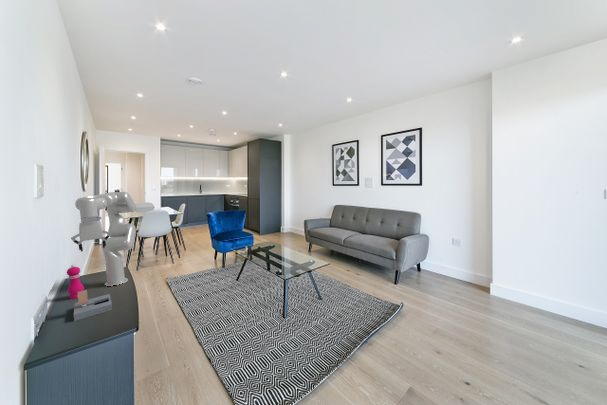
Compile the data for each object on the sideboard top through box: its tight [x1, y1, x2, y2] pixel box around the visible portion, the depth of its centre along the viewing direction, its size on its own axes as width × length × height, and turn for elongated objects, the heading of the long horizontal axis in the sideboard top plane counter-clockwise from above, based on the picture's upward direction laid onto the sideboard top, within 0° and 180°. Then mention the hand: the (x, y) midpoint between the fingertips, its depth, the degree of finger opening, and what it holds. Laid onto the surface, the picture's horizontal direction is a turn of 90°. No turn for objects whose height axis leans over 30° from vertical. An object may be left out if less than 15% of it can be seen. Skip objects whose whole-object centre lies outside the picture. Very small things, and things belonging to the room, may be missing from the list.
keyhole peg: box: [77, 289, 88, 307], centre depth 130 cm, size 5×5×11 cm
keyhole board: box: [73, 293, 113, 322], centre depth 133 cm, size 17×15×3 cm
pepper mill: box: [66, 264, 85, 300], centre depth 149 cm, size 7×7×20 cm
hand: (93, 249), depth 142 cm, fingers open, 9 cm apart
